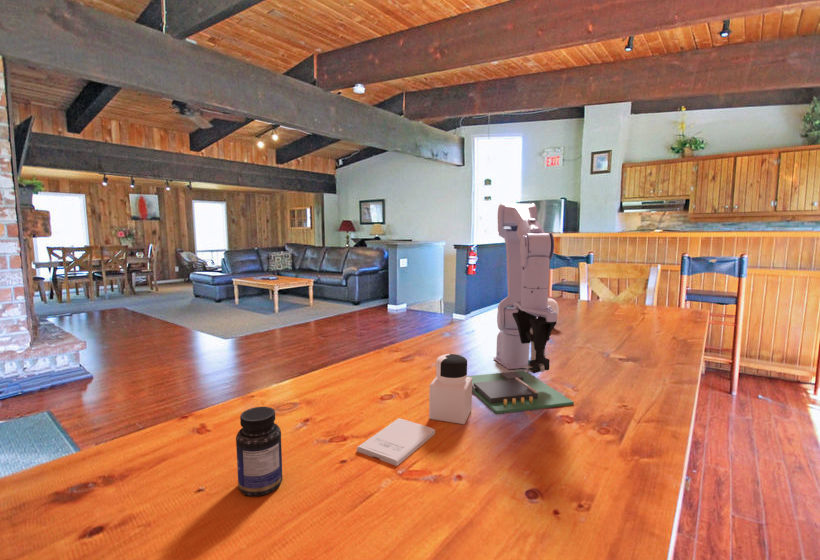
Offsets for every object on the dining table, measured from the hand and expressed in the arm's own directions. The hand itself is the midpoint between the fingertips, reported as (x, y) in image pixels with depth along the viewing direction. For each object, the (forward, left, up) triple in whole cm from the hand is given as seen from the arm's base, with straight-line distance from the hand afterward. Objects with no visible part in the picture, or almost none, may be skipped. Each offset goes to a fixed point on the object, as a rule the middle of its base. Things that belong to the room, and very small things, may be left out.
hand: (532, 346), depth 97 cm
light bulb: (-53, +39, -11) cm, 66 cm away
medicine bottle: (+7, -22, -11) cm, 26 cm away
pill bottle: (+22, -57, -11) cm, 62 cm away
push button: (0, +1, -6) cm, 6 cm away
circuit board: (-1, -4, -10) cm, 11 cm away
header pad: (+1, -7, -10) cm, 12 cm away
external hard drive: (+15, -35, -11) cm, 40 cm away
